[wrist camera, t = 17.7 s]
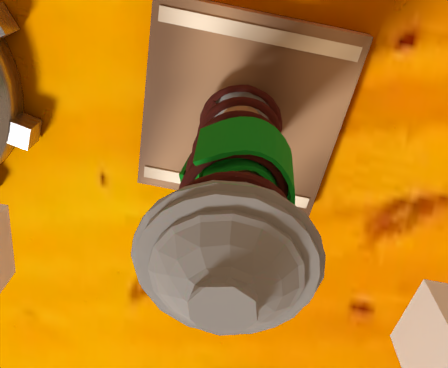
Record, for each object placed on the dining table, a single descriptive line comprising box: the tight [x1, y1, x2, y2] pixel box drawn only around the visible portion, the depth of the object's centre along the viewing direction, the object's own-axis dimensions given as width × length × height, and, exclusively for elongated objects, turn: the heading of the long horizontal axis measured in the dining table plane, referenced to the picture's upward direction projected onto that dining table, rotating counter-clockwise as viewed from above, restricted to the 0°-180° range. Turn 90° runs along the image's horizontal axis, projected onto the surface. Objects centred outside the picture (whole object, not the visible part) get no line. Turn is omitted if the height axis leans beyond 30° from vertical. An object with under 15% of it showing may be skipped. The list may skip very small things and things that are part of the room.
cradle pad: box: [138, 0, 373, 216], centre depth 25 cm, size 12×12×1 cm
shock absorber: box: [131, 85, 325, 335], centre depth 18 cm, size 6×6×15 cm
